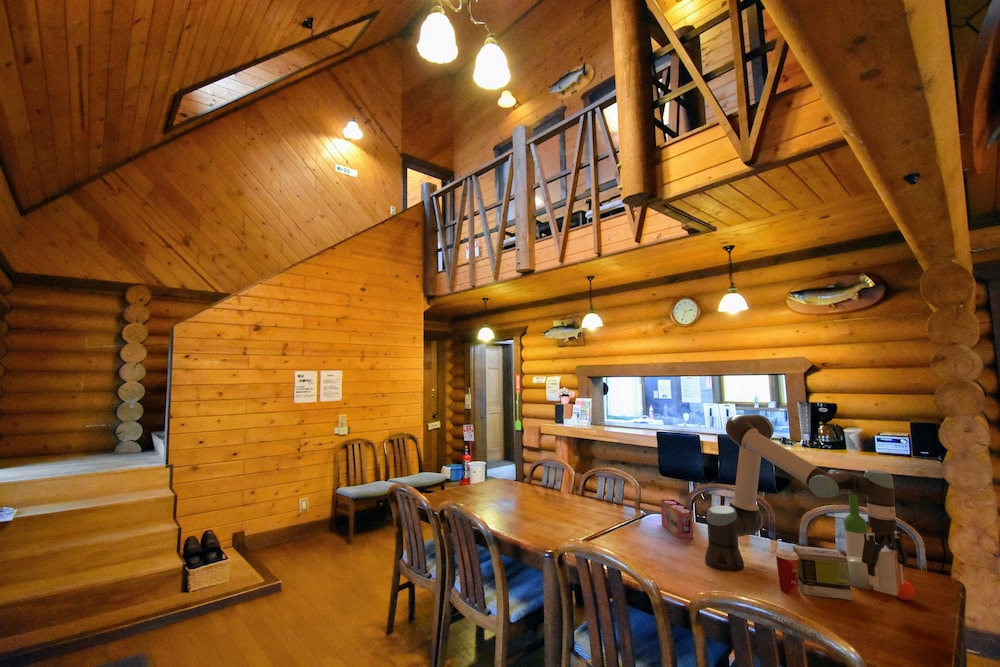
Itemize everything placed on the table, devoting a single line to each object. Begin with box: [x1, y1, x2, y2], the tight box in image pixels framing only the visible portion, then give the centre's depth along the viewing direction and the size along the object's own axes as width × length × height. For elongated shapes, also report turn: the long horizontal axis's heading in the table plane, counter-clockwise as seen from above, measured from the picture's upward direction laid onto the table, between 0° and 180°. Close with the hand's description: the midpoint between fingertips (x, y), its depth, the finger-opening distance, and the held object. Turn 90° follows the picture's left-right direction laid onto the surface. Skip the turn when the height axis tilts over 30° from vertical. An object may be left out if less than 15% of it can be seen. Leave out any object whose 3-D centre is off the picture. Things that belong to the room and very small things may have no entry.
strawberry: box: [894, 578, 916, 601], centre depth 162 cm, size 8×7×7 cm
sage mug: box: [845, 555, 873, 590], centre depth 174 cm, size 10×8×9 cm
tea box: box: [792, 545, 853, 601], centre depth 168 cm, size 15×10×15 cm, turn 71°
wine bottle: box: [843, 494, 869, 558], centre depth 190 cm, size 8×8×30 cm
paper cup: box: [774, 549, 799, 596], centre depth 168 cm, size 8×8×14 cm
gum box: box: [660, 498, 694, 539], centre depth 237 cm, size 24×8×14 cm, turn 2°
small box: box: [872, 546, 900, 597], centre depth 154 cm, size 8×6×13 cm
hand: (886, 584), depth 153 cm, fingers closed on small box, 10 cm apart
